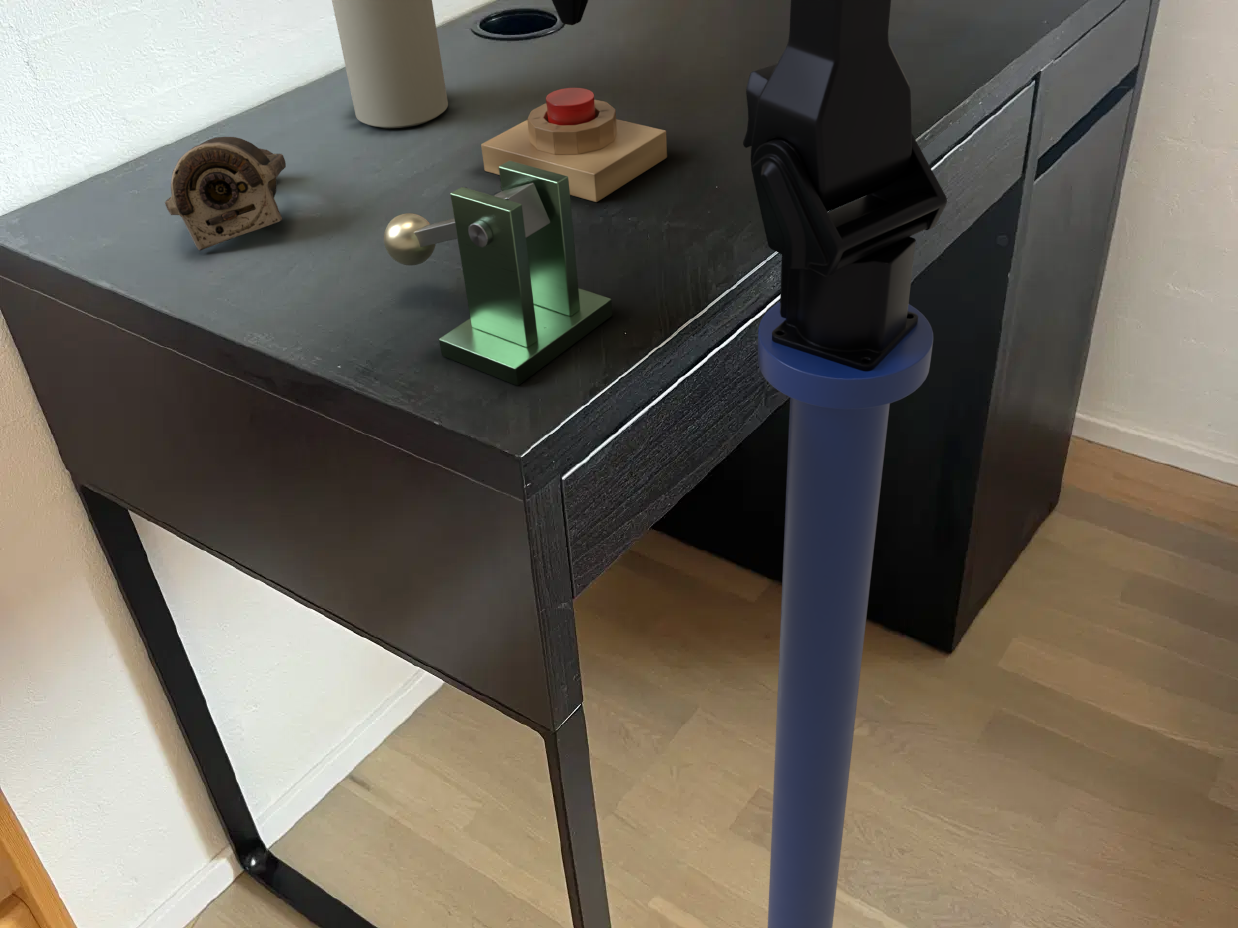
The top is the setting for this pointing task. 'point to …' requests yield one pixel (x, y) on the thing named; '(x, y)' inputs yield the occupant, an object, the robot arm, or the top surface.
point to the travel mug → (392, 60)
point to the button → (570, 106)
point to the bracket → (519, 280)
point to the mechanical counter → (225, 190)
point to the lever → (452, 227)
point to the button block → (580, 150)
